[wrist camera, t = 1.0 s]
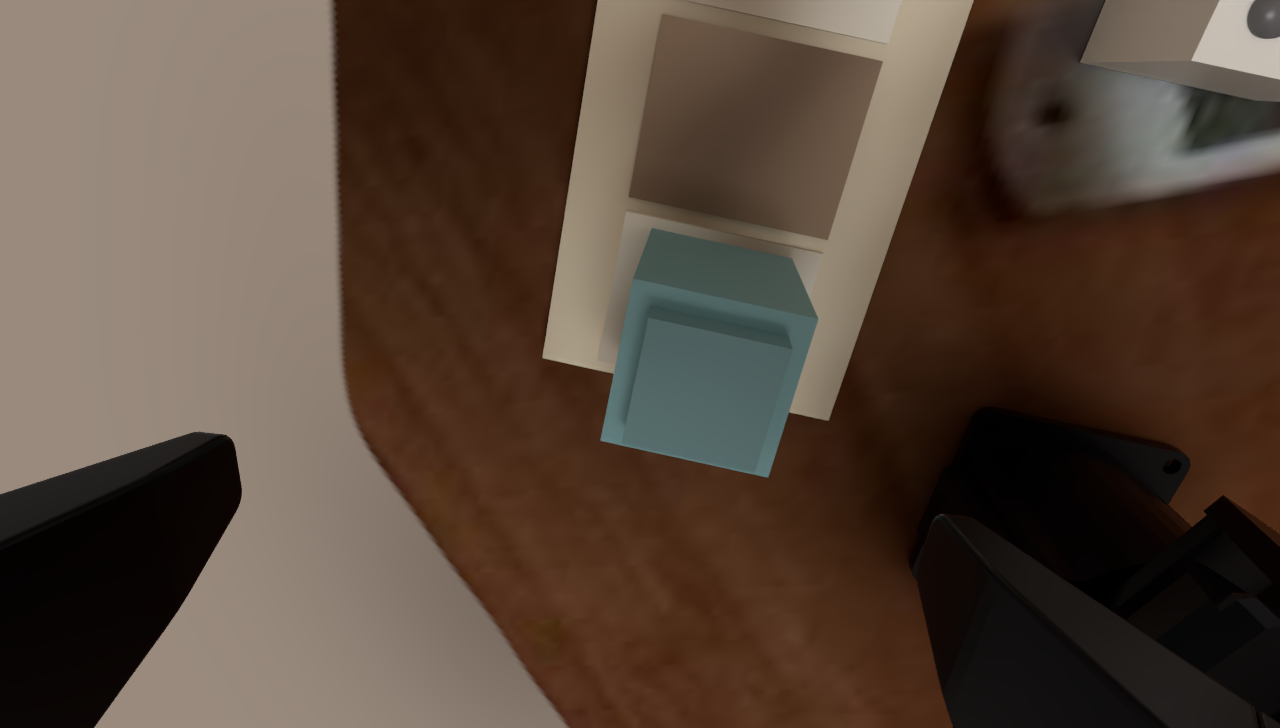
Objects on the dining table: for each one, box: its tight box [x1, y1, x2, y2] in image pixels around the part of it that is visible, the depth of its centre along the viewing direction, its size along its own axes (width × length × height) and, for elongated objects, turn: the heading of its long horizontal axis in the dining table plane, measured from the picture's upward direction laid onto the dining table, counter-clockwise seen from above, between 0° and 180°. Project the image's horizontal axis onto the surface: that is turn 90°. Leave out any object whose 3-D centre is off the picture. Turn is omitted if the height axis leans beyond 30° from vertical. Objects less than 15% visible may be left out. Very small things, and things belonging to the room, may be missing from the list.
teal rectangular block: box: [600, 228, 818, 478], centre depth 18 cm, size 4×4×6 cm
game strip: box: [543, 0, 974, 421], centre depth 18 cm, size 9×20×1 cm, turn 169°
